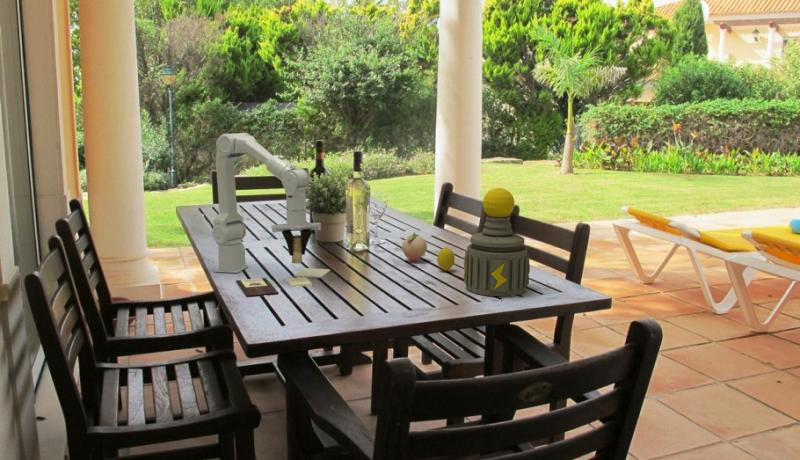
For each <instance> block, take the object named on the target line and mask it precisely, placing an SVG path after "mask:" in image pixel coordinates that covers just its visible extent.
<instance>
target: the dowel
mask: <svg viewBox="0 0 800 460" xmlns="http://www.w3.org/2000/svg"><path fill="white" fill-rule="evenodd" d="M292 246H293V255H292V256H291V263H292V264H302V263H303V255H302V236H301V234H300V235H299V234H294V235H293V243H292Z"/></svg>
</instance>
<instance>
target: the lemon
mask: <svg viewBox="0 0 800 460" xmlns="http://www.w3.org/2000/svg"><path fill="white" fill-rule="evenodd" d="M436 260H437V265H438V266H439V268H440V269H442V270H443V271H444V272H448V270H450V269H451V268H452V267H453V266H454V265H455V253H454V252H453V250H452V249H451V248H450V247H447V246H445V247H444V248H441V249H440V250H439V251H438V253H437V259H436Z"/></svg>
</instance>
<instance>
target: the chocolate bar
mask: <svg viewBox="0 0 800 460" xmlns="http://www.w3.org/2000/svg"><path fill="white" fill-rule="evenodd" d="M235 283H236V284H237V286H238V288H239V289H240V290H241V292H242V293H243V294H244V296H245V297H246V298H256V297H265V296H264V295H268V296H276V295H277V296H278V294H280V293H279V290H278V289H276V288H275V287H274V286H273V284H272V283H271V282H270V281H269V279H267V278H266V277H261V278H260V277H259V278H249V279H238V280H237V279H236V280H235ZM277 290H278V291H277Z"/></svg>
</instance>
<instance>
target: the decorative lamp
mask: <svg viewBox="0 0 800 460" xmlns="http://www.w3.org/2000/svg"><path fill="white" fill-rule="evenodd" d="M482 208H483V211H484V212H485V214H486V220H485V222H484V227H483V228H482V232H477V233H476V234H473V235H471V236H470V239H469V242H470V243H471V244H469V245H467V247H466V251H465V252H464V259H463V261H464V262H463V283H464V285H465V288H466V289H467V290H468V291H469V292H470V293H473V294H476V295H479V296H484V295H485V296H484V297H493V296H498V297H497V298H500V297H499V296H508V297H514V296H513V295H516V296H519V295H522V294H524V292H526V289H527V287H528V286H529V284H530V271H531V267H530V253H529V252H528V248H527V247H526V246H525V237H523V236H522V235H519V234H517V233H514V231H513V228H512V222H510V221H511V218H510V215H512V213H513V211H514V208H515V198H514V195H513V194H512V193H511V192H510V190H507V189H505V188H504V187H503V188H501V187H495V188H491V189H490V190H488V191H487V192H486V194H484V198H483V199H482ZM518 294H519V295H518Z"/></svg>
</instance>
